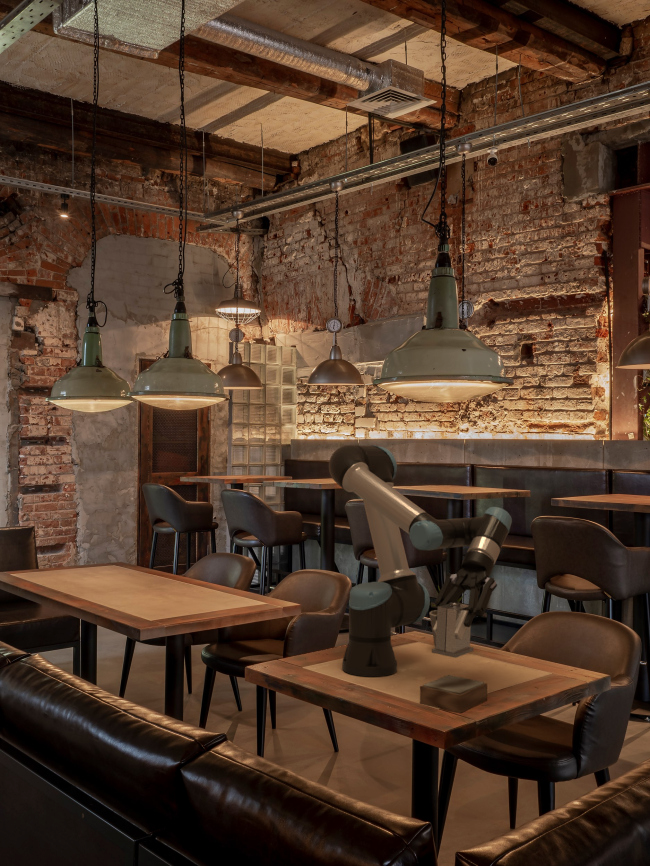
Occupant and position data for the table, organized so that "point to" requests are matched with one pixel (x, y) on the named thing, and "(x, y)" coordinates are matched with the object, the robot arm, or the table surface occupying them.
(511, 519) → the robot arm
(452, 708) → the stand
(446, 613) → the housing
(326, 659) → the table surface
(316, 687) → the table surface
